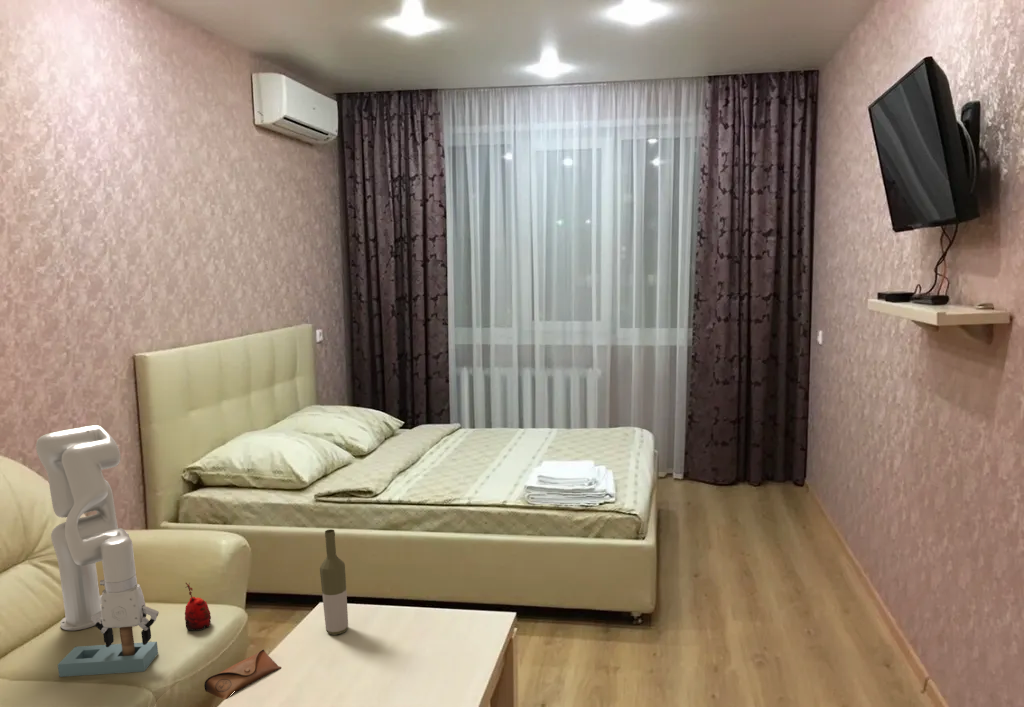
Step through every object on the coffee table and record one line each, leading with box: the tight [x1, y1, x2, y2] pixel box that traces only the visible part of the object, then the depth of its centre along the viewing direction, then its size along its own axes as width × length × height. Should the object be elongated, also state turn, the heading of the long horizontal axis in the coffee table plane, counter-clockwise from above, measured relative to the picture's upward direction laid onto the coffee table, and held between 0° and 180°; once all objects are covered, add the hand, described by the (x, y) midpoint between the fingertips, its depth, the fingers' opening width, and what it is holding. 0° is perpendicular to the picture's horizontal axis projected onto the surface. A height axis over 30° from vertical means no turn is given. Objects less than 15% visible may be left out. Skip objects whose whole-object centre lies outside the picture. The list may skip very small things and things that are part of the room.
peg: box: [118, 627, 135, 656], centre depth 206 cm, size 3×3×12 cm
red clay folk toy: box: [184, 581, 212, 631], centre depth 225 cm, size 8×7×15 cm
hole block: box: [57, 641, 159, 678], centre depth 206 cm, size 9×22×4 cm, turn 93°
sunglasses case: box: [203, 649, 282, 700], centre depth 197 cm, size 18×7×7 cm
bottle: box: [319, 528, 349, 636], centre depth 218 cm, size 7×7×30 cm
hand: (128, 643), depth 206 cm, fingers open, 9 cm apart
